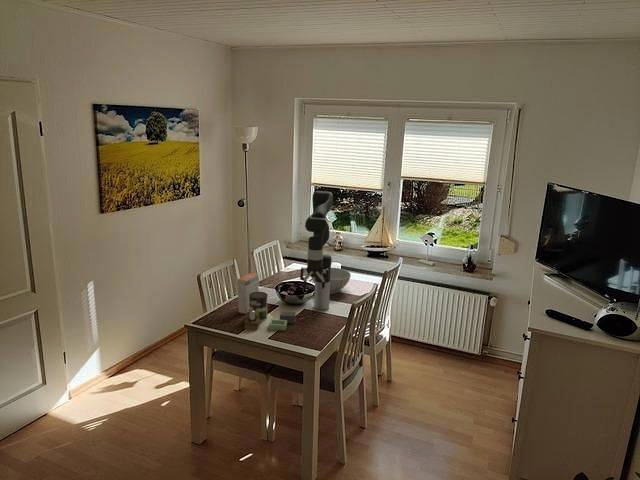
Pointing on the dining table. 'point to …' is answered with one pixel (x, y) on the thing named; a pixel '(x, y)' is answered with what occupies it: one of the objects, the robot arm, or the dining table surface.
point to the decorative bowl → (337, 279)
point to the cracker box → (246, 291)
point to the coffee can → (258, 304)
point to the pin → (252, 315)
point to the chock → (287, 316)
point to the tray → (278, 325)
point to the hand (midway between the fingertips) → (314, 288)
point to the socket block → (252, 323)
